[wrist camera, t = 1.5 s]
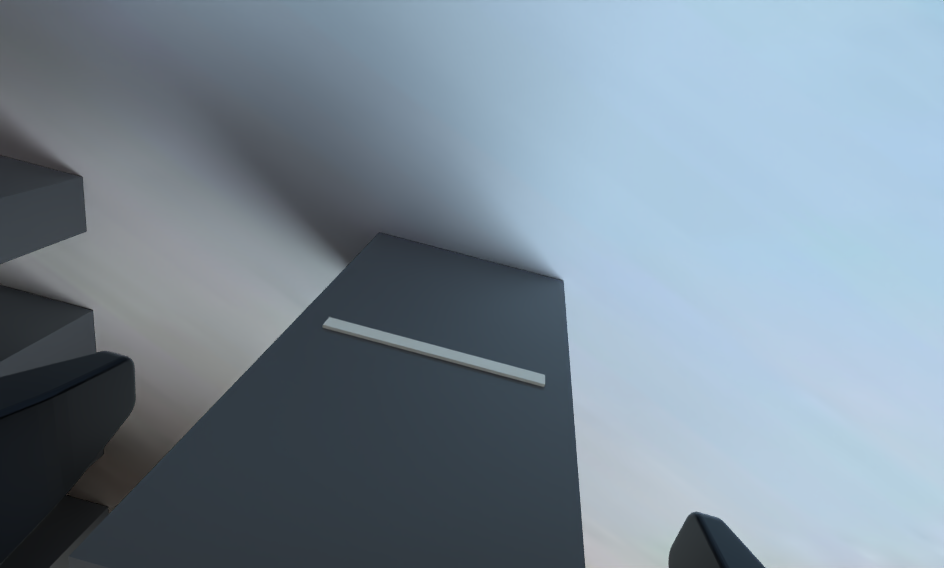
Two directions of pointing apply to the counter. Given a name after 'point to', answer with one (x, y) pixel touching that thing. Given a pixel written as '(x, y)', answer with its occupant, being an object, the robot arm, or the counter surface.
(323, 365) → the domino
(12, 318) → the domino
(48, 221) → the domino
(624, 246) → the counter surface
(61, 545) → the domino
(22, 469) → the robot arm
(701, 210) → the counter surface
